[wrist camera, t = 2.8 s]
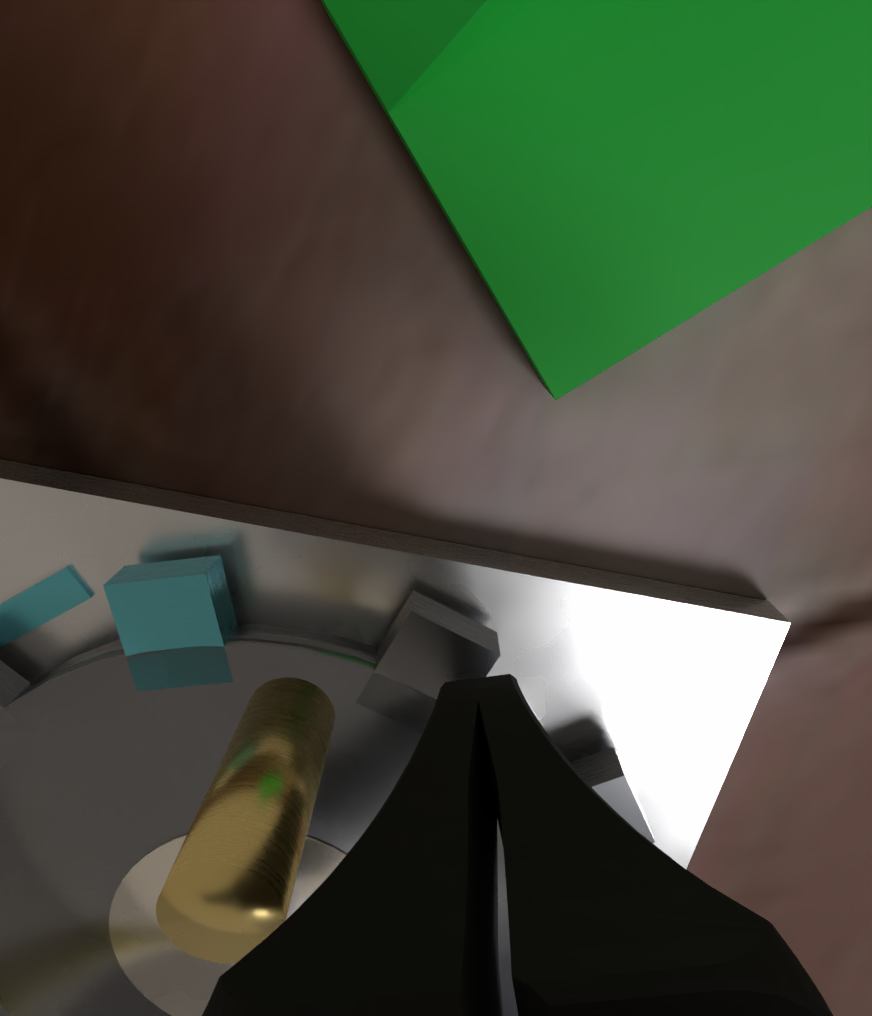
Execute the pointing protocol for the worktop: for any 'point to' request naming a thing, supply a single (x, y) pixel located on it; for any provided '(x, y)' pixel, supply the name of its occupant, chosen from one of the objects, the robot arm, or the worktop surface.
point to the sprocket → (207, 787)
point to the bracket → (623, 149)
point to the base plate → (380, 597)
